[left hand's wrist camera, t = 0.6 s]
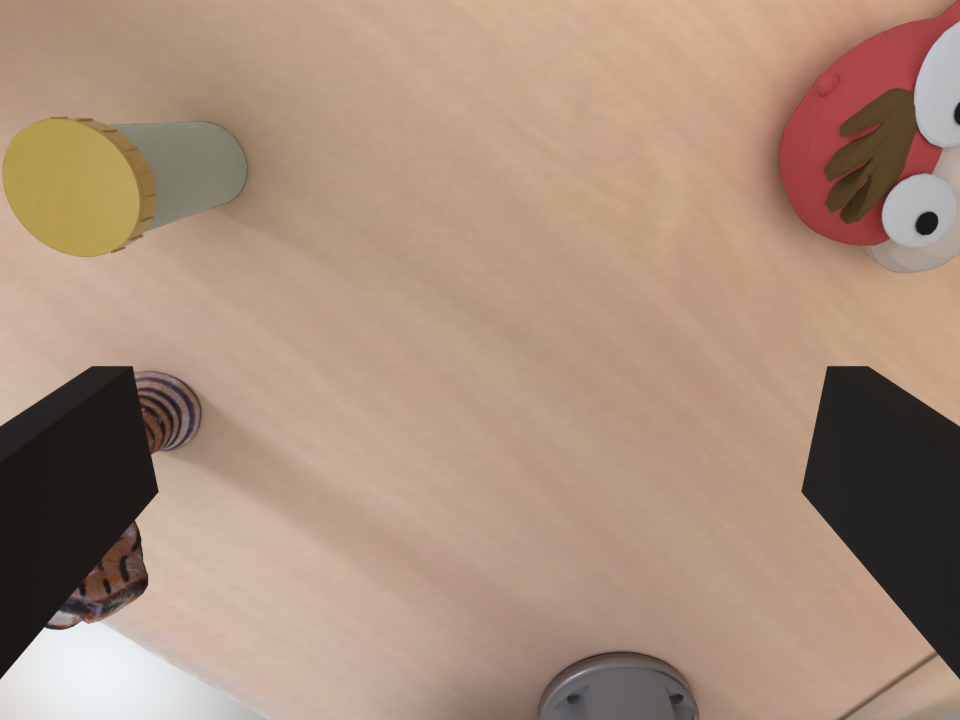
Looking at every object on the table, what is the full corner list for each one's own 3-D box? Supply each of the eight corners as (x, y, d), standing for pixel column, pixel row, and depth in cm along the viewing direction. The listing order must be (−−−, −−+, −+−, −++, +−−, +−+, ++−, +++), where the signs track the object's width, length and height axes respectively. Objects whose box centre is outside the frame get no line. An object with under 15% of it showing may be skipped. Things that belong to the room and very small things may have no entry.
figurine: (57, 420, 52) (-438, 781, 24) (68, 334, 49) (-474, 627, 21) (239, 472, 54) (-25, 867, 26) (258, 392, 51) (-11, 734, 23)
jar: (215, 221, 46) (95, 271, 32) (150, 164, 45) (-7, 190, 30) (263, 163, 45) (160, 188, 30) (197, 103, 44) (56, 99, 29)
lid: (111, 276, 33) (93, 285, 32) (0, 187, 32) (-26, 191, 30) (184, 186, 32) (168, 190, 30) (70, 87, 30) (46, 85, 28)
